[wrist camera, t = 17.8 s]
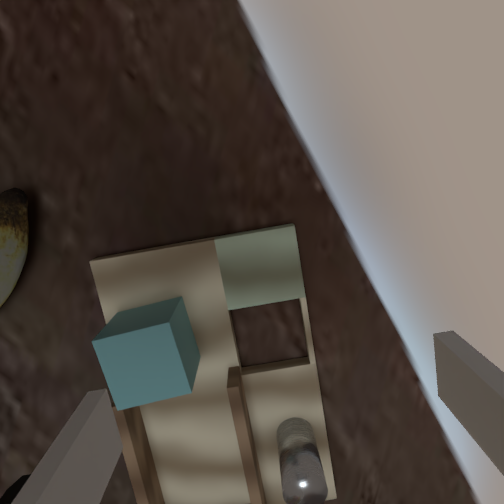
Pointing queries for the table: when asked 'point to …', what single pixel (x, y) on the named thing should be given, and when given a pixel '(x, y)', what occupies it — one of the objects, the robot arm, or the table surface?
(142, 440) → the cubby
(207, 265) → the board
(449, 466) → the table surface
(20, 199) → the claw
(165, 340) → the block
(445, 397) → the robot arm
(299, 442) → the grey knob
